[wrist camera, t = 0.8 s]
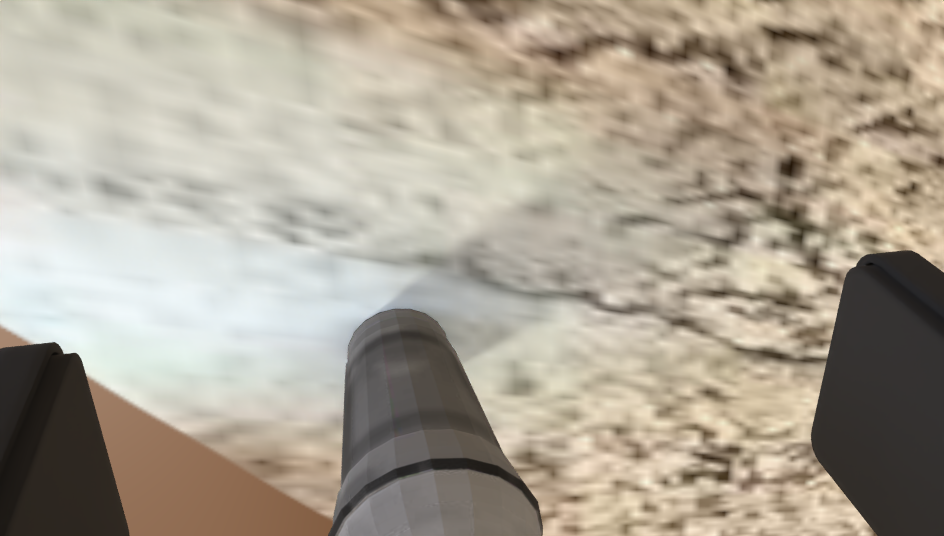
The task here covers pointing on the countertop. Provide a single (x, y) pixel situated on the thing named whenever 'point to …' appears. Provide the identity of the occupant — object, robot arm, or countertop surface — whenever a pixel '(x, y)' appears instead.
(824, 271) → the countertop surface
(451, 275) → the countertop surface
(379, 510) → the beverage cup
